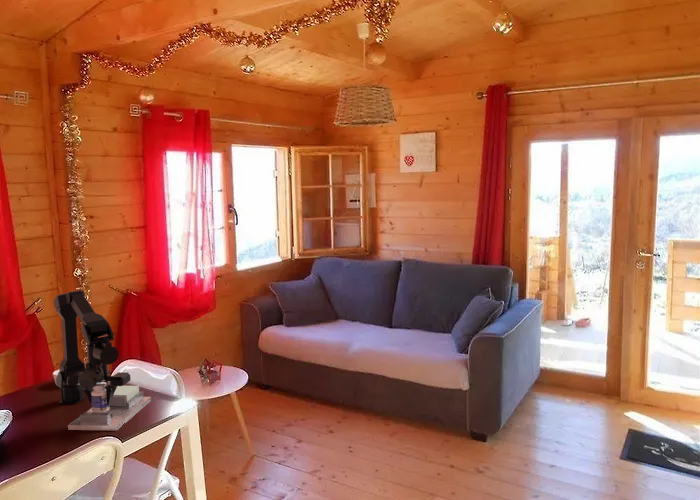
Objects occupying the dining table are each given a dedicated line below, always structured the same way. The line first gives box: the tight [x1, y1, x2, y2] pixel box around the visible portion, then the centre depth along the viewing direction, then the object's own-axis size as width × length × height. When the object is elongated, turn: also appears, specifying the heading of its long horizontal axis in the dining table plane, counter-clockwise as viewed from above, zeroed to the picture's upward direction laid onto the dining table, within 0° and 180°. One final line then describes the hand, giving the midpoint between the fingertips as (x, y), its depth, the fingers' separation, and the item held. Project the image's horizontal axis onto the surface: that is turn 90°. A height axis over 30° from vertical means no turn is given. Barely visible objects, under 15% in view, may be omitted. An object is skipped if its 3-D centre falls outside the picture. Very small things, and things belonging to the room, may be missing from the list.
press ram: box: [109, 385, 140, 406], centre depth 197 cm, size 8×10×4 cm
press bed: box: [67, 390, 152, 432], centre depth 190 cm, size 16×25×4 cm, turn 175°
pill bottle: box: [91, 382, 110, 413], centre depth 183 cm, size 5×5×9 cm
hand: (100, 404), depth 183 cm, fingers closed on pill bottle, 5 cm apart
